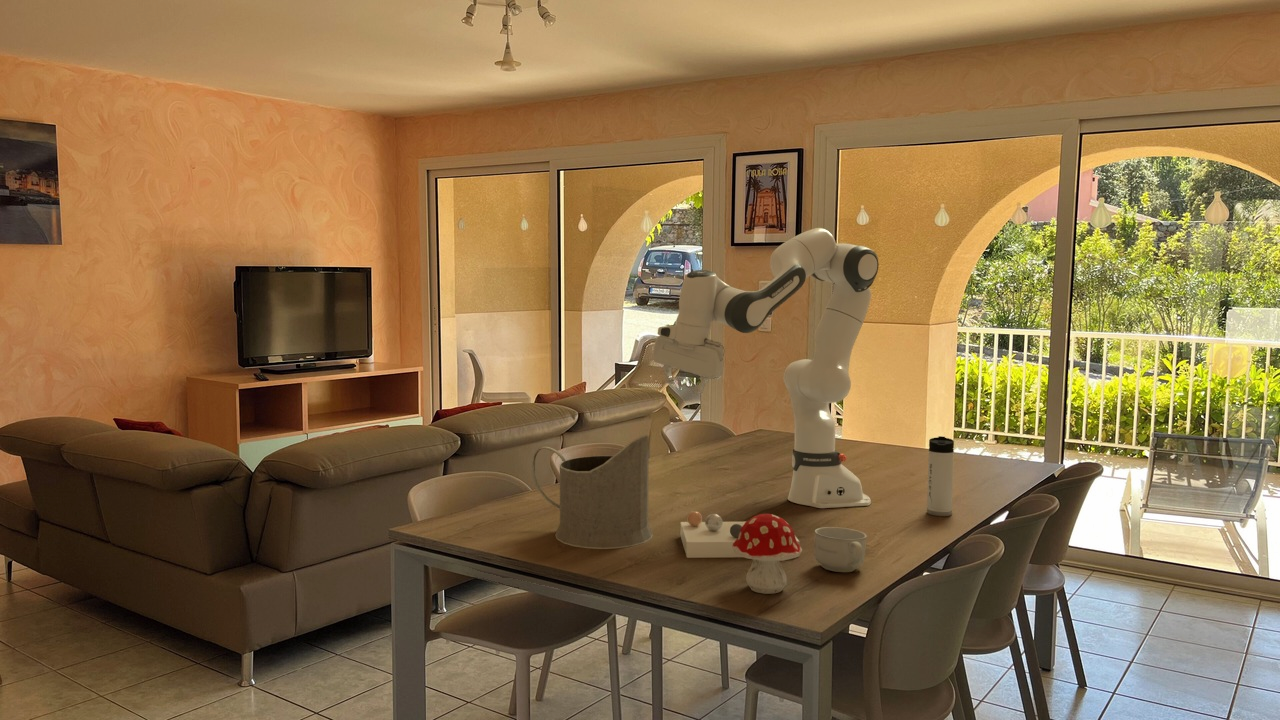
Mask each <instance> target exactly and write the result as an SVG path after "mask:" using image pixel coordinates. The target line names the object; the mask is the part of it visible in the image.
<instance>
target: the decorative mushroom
mask: <svg viewBox="0 0 1280 720" xmlns="http://www.w3.org/2000/svg"><path fill="white" fill-rule="evenodd" d="M745 522H746V523H745V524H744V525H743V526H742V527H741V530H740V533H739V536H738V538H737V539H736V541H735V542H734V543H733V545H732V548H733V550H734V552H735V554H737V555H740V556H742V557H741V558H745V559H749V560H752V563H751V566H750V568H749V569H748V571H747V574H746V577H745V580H746V583H747V585H748V587H749V588H750V589H751V591H753V592H755V593H757V594H763V595H768V594H770V595H775V594H777V593H780V592H782V591H783V590H784V589H785V587H786V585H787V583H788V578H787V575H786V573H785V570H784V569H783V566H782V563H781V561H787V560H791V559H796V558H798V557H797V556H798V555H799V556H800V555H801V554H802V552H803V548H802V547H801V545H800V543H799V544H798V543H797V541H796V538H795V536H796V535H795V531H794V530H793V528H792V527H791V526H790V524H789V523H788V522H787V521H786V520H785V519H784V518H782V517H780V516H777V515H775V514H772V513H762V514H761V513H760V514H757V515H754V516H753V517H751V518H750V519H749V520H747V521H745Z"/></svg>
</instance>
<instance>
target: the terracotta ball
mask: <svg viewBox="0 0 1280 720" xmlns="http://www.w3.org/2000/svg"><path fill="white" fill-rule="evenodd" d="M686 518H687V519H686V520H687V521H686V522H688V523H689V524H690V525H692V526H698V525H699V524H700V523H701V522H703V516H702V514H701V513H700V512H699V511H696V510H692V511H690V512H689V513H688V515H687V517H686Z"/></svg>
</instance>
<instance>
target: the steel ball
mask: <svg viewBox="0 0 1280 720" xmlns="http://www.w3.org/2000/svg"><path fill="white" fill-rule="evenodd" d="M704 522H705V525H706V527H707V528H708V529H709V530H711V531H717V530H719V529H720V528H721V527H722V523H723V522H724V521H723V518H722V517H721V516H720V515H719V514H717V513H710V514H709V515H707V516H706V517H705V521H704Z"/></svg>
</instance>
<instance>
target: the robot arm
mask: <svg viewBox="0 0 1280 720" xmlns="http://www.w3.org/2000/svg"><path fill="white" fill-rule="evenodd" d="M769 259H770V260H769V267H770V271H771V274H772V276H773V278H772V280H771V281H769V282H767V283H766V285H764V286H763V287H761V288H760V289H759V290H755V291H752V290H751V291H748V290H743V289H739V288H736V287H734V286H730V285H729V284H728V283H725V282H724V281H722V279H720V278H719V277H718V276H717V273H715V272H714V271H711V270H706V269H705V270H703V269H699V270H698V269H697V270H696V269H695V270H691V271H689V272H688V273H687V274H686V275H685V277H684V278H683V282H682V284H681V289H680V294H679V299H678V300H679V301H678V309H679V310H678V311H679V312H678V315H677V318H676V319H675V324H671V325H664V326H660V327H658V328H657V335H658V336H657V337H656V339H655V340H654V345H653V351H652V359H653V362H654V363H657V364H660V365H663V367H662V369H663V372H664V375H665V376H664V377H665V380H664V382H665V383H666V384H669V385H672V384H674V380H675V376H673V375H672V370H673V369H676V370H681V371H683V372H686V373H690V374H693V375H695V376H699V381H700V382H699V383H698V384H695V386H694V393H697V394H703V393H704V387H705V386H706V385H707V384H708V382H709V381H710V380H712V381H713V380H719V379H721V378H722V377H723V375H724V370H725V369H724V367H725V366H724V365H725V354H726V353H725V352H726V348H725V347H724V345H723V344H722V343H721V342H719V341H715V340H713V339H710V335H711V329H712V322H713V321H714V322H717V323H718V324H721V325H724V326H727V327H730V328H732V329H733V330H736V331H737V332H739V333H742V334H749V333H753V332H755V331H757V330H758V329H759V328H760V327H761V326H762V325H763V324H764V322H765V321H766V319H767V318H768V317H769V316H770V315H771V314H772V313H773V312H774V311H775V310H777V309H778V307H780V306H781V305H782V304H784V302H786V301H787V300H789V298H791V297H792V296H794V294H796V292H798V291H799V290H800V289H801V288H802V286H803V285H804V284H805V282H806V279H807V278H809V277H810V276H812V277H813V278H814V279H816V280H818V281H820V282H827V283H831V284H832V285H833V289H832V290H833V291H832V295H831V297H830V298H829V300H828V301H827V304H826V306H825V309H824V310H823V313H822V315H821V318H820V320H819V322H818V324H817V327H816V329H815V332H814V334H813V336H814V337H813V338H814V342H815V345H814V353H813V358H812V359H808V358H804V359H799V360H795V361H793V362H791V363H789V364H788V365H787V366H786V368H785V370H784V372H783V380H782V381H783V384H784V386H785V388H786V389H787V392H788V395H789V399H790V403H791V409H792V413H793V421H794V448H793V450H792V455H791V457H792V458H791V466H792V469H793V471H792V478H791V484H790V490H789V493H788V496H787V500H788V501H790V502H791V503H795V504H798V505H803V506H809V507H813V508H818V509H827V508H828V509H829V508H830V509H831V508H845V507H846V508H847V507H864V506H870V505H871V503H872V502H871V501H872V500H871V498H870V497H869V495H867V494H865V493H864V491H863V487H862V483H861V480H860V478H859V477H858V476H856V475H855V474H854V473H853V472H852V471H851V470H849V469H848V468H847V467H846V466H845V465H843V464H842V463H844V462H846V461H848V457H847V455H845V454H844V453H841V452H839V451H837V449H836V423H835V419H834V417H833V415H832V414H831V411H830V407H829V404H833V403H839V402H841V401H844V400H845V399H846V397H847V396H848V395H849V394H850V390H851V386H852V382H851V381H852V380H851V377H850V375H849V372H850V371H849V368H850V362H851V361H850V360H851V355H852V352H853V348H854V346H855V343H856V342H857V338H858V337H859V333H860V331H861V328H862V327H863V326H862V325H863V324H864V322H865V319H866V316H867V314H868V310H869V307H870V303H871V300H872V299H871V298H872V290H871V286H872V285H873V283H874V281H875V279H876V278H877V275H878V271H879V265H880V264H879V258H878V255H877V253H876V251H874V250H872V249H871V248H869V247H867V246H864V245H855V244H851V243H844V242H843V243H836V240H835V237H834V235H833V234H832V233H831V232H830V231H829V230H827V229H825V228H823V227H815V228H812V229H809V230H806V231H804V232H801V233H800V234H797V235H796V236H793V237H792V238H790V239H788V240H786V241H785V242H783V243H782V244H780V245H779V246H777V248H775V249H774V250H773V251H772V253H771V256H770V258H769Z"/></svg>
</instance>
